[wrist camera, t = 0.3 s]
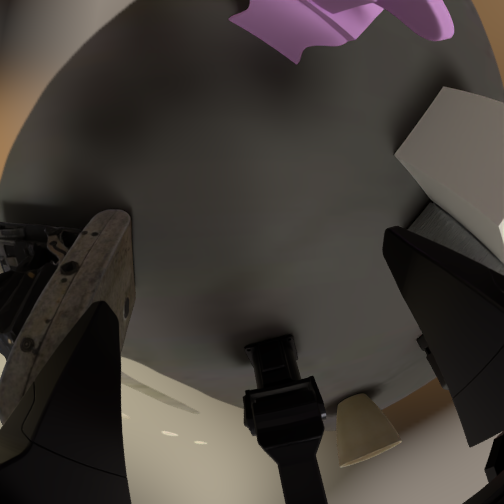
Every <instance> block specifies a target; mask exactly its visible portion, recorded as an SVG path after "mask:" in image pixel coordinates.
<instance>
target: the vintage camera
mask: <svg viewBox="0 0 504 504" xmlns="http://www.w3.org/2000/svg"><path fill="white" fill-rule="evenodd" d="M0 263H1V266H2V269H3V271H4V273H1V274H0V353H1V354H2V355H4V356H5V358H6V361H7V362H6V364H5V367H4V370H3V372H2V375H1V378H0V420H1V423H2V425H4V423H5V422H6V420H7V419H8V417H9V416H10V415H11V413H12V412H13V410H14V409H15V407H16V406H17V405H18V403H19V402H20V400H21V399H22V397H23V396H24V394H25V393H26V391H27V390H28V388H29V387H30V385H31V384H32V382H33V381H35V378H36V376H37V375H38V374H39V372H40V371H41V369H42V368H43V366H44V365H45V364H46V362H47V361H48V359H49V358H50V357H51V355H52V354H53V352H54V351H55V350H56V348H57V347H58V346H59V344H60V343H61V342H62V340H63V339H64V338H65V337H66V335H67V334H68V333H69V331H70V330H71V329H72V328H73V326H74V325H75V324H76V323H77V321H78V320H79V319H80V318H81V316H82V315H83V314H84V313H85V311H86V310H87V309H88V308H89V307H90V305H91V304H92V303H93V302H96V301H101V300H104V301H106V302H107V304H108V305H109V306H110V308H111V309H112V310H113V312H114V313H115V314H116V316H117V317H118V320H119V335H120V354H121V351H122V348H123V344H124V340H125V336H126V332H127V328H128V324H129V321H130V317H131V314H132V310H133V307H134V303H135V294H136V292H135V284H134V271H133V256H132V240H131V217H130V216H129V214H128V213H126V212H125V211H123V210H118V209H107V210H105V211H102V212H99V213H97V214H96V215H95V216H94V217H93V218H92V219H91V220H90V222H89V223H88V224H87V225H86V226H85V228H84V229H76V228H68V227H58V228H57V227H52V226H48V225H39V224H25V223H9V222H0Z"/></svg>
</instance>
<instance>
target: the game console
mask: <svg viewBox="0 0 504 504" xmlns="http://www.w3.org/2000/svg"><path fill="white" fill-rule="evenodd" d="M417 342H418V344H419V345H420V347H421V349H422V350H423V351H424V350H425V352H426V354H427V357H426V358H427V360H428V361H429V363H430V365H431V367H432V369H433V371H434V372H435V374H436V376H437V378H438V380H439V382H440V384H441V386H442V388H443V389H446V390H449V389H448V387H447V384H446V382H445V380H444V377H443V375H442V373H441V371H440V368H439V366H438V364H437V362H436V360H435V357H434V355H433V353H432V351H431V349H430V347H429V345H428V343H427V341H426V339H425V337H424V335H422V336H421V337H420V338H419V339H418V340H417Z"/></svg>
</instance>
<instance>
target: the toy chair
mask: <svg viewBox="0 0 504 504" xmlns="http://www.w3.org/2000/svg"><path fill="white" fill-rule="evenodd" d="M384 9H385V10H387V11H389V12H390V13H392V14H393V15H394V16H396V17H397V18H398V19H399V20H400V21H402V22H403V23H404V24H405V25H406V26H407V27H409V28H410V29H411V30H412V31H413V32H415V33H416V34H418V35H419V36H421V37H423V38H425V39H427V40H431V41H440V40H444V39H448V38H451V37H452V36H453V34H454V25H453V22H452V19H451V16H450V14H449V12H448V10H447V8H446V6H445V4H444V2H443V0H250V4H249V7H248V9H247V10H245V11H243V12H241V13H238V14H235V15H233V16H231V17H230V18H229V19H228V20H230V21H231V22H233V23H235V24H236V25H238V26H240V27H241V28H243V29H245V30H246V31H248V32H250V33H251V34H253V35H255V36H256V37H258V38H259V39H261V40H262V41H264V42H265V43H267V44H268V45H270V46H271V47H273V48H274V49H276V50H277V51H278V52H280V53H281V54H283V55H284V56H285V57H287V58H288V59H290V60H291V61H292V62H294V63H295V64H298V63H299V62H300V59H301V55H302V52H303V50H304V49H305V48H306V47H310V46H340V45H343V44H345V43H346V42H347V41H352V40H356V39H357V37H358V36H359V35H360V34H361V33H362V32H363V31H364V30H365V29H366V28H367V27H368V26H369V25H370V23H371V22H372V21H373V20H374V19H375V18H376V17H377V16H378V15H379V14H380V13H381V12H382V11H383V10H384Z"/></svg>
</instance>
